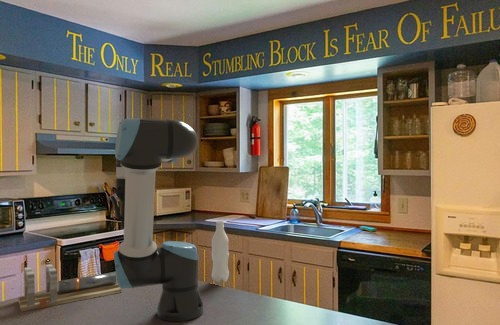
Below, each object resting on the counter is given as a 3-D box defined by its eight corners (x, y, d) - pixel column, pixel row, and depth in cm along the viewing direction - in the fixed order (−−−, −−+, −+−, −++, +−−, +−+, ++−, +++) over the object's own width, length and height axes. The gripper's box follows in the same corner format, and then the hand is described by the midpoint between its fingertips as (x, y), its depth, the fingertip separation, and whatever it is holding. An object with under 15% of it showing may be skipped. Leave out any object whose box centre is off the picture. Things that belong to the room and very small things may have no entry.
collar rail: (121, 292, 154) (121, 262, 153) (21, 312, 135) (21, 277, 135) (112, 284, 164) (112, 255, 164) (18, 301, 145) (18, 268, 145)
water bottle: (220, 277, 172) (219, 219, 172) (232, 280, 168) (232, 221, 167) (208, 281, 167) (207, 221, 166) (220, 285, 162) (220, 223, 162)
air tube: (112, 283, 161) (112, 270, 160) (116, 286, 156) (116, 273, 156) (57, 293, 149) (57, 279, 149) (60, 296, 145) (60, 282, 145)
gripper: (138, 176, 168) (139, 233, 168) (106, 177, 160) (107, 236, 161) (145, 177, 161) (145, 235, 162) (112, 178, 154) (112, 239, 154)
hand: (126, 236), depth 161 cm, fingers closed
